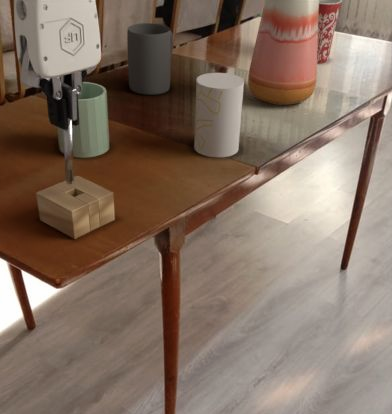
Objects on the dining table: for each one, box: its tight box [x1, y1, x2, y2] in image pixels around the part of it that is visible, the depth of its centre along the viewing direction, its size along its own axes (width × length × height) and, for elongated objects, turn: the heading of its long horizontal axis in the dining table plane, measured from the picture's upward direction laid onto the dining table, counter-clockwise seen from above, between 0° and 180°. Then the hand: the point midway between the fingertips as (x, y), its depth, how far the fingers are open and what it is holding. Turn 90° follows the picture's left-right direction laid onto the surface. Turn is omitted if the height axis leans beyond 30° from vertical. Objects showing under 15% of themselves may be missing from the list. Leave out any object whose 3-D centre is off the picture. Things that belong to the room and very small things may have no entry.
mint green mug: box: [56, 81, 110, 159], centre depth 111 cm, size 12×9×10 cm
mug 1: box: [126, 22, 174, 96], centre depth 135 cm, size 14×9×12 cm
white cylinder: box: [193, 72, 245, 158], centre depth 111 cm, size 8×8×12 cm
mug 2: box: [317, 0, 343, 64], centre depth 154 cm, size 13×9×14 cm
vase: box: [247, 0, 319, 106], centre depth 126 cm, size 14×14×30 cm
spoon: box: [61, 82, 77, 184], centre depth 85 cm, size 1×3×14 cm, turn 49°
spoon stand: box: [35, 175, 116, 240], centre depth 92 cm, size 8×8×4 cm
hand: (64, 123), depth 84 cm, fingers closed on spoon, 1 cm apart
